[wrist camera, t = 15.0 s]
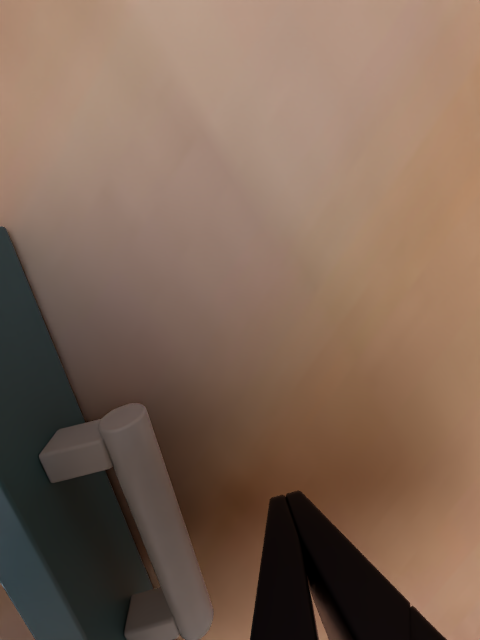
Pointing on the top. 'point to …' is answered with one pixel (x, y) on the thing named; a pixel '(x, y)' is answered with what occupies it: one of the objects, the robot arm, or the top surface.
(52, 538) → the drawer
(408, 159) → the top surface
